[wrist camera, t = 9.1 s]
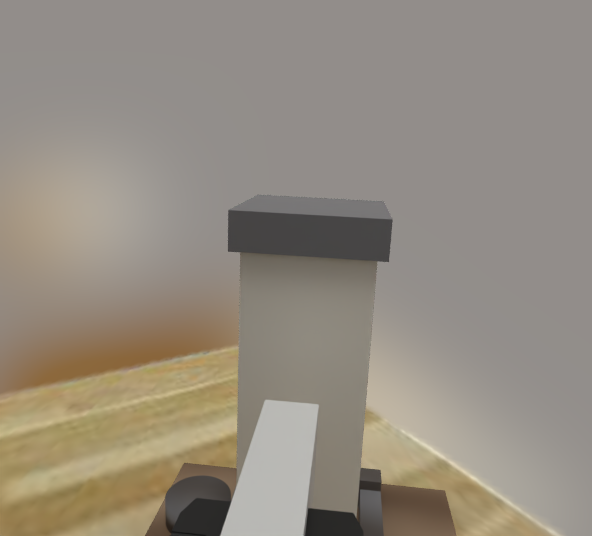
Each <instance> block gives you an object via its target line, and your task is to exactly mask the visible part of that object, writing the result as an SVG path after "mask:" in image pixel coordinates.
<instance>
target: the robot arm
mask: <svg viewBox="0 0 592 536" xmlns="http://www.w3.org/2000/svg"><path fill="white" fill-rule="evenodd" d="M318 411H319V404H309V403H298V402H286V401H275V400H265V402H264V405H263V408H262V411H261V414H260V417H259V420H258V423H257V426H256V429H255V432H254V435H253V438H252V441H251V444H250V447H249V450H248V453H247V456H246V459H245V462H244V465H243V468H242V471H241V474H240V477H239V481H238V484H237V487H236V490H235V493H234V496H233V499H232V502H231V501H221V500H212V499H202V498H196V499H195V500H193V501H192V502H191V503H190V504H189V505H188V506H187V507H186V508H185V509H184V510H183V511H181V512H180V514H179V516H178V518H177V521H176V523H175V525H174V527H173V529H172V533H171V535H170V536H364V534H363V529H362V527H361V526H360V524H359V522H358V520H357V519H356V517H355V515H354V513H350V512H341V511H331V510H322V509H313V508H312V504H313V494H314V480H315V463H316V446H317V428H318Z"/></svg>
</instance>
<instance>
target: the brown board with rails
mask: <svg viewBox="0 0 592 536" xmlns="http://www.w3.org/2000/svg"><path fill="white" fill-rule="evenodd" d="M236 478H237V468H227V467H218V466H209V465H199V464H190V463H184V464H183V466H182V468H181V470H180V472H179V474H178V475H177V477H176V479H175V481H174V483H173V485H172V487H171V488H170V489H169V490H168V492H167V494H166V497H165V500H164V502H163V503H162V505H161V507H160V509H159V511H158V513H157V515H156V516H155V518H154V520H153V522H152V524H151V526H150V528H149V530H148V531H147V533H146V535H145V536H170V535H171V533H172V529H173V527H174V525H175V523H176V521H177V518H178V516H179V514H180V512H181V511H183V510H184V509H185V508H186V507H187V506H188V505H189V504H190V503H191V502H192V501H193V500H195V499H196V498H202V499H212V500H221V501H231V502H232V499H233V496H234V493H235V490H236ZM356 519H357V520H358V522H359V524H360V526H361V527H362V529H363V534H364V536H456V532H455V528H454V524H453V520H452V516H451V513H450V509H449V505H448V501H447V497H446V493H445V491H443V490H434V489H424V488H415V487H406V486H396V485H387V484H381V471H380V470H375V469H366V468H360V481H359V493H358V505H357V518H356Z"/></svg>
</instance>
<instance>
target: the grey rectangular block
mask: <svg viewBox="0 0 592 536" xmlns="http://www.w3.org/2000/svg"><path fill="white" fill-rule="evenodd" d="M228 212H229V213H228V251H229V252H240V305H239V306H240V307H239V362H238V420H237V478H236V487H237V484H238V481H239V477H240V474H241V471H242V468H243V465H244V462H245V459H246V456H247V453H248V450H249V447H250V444H251V441H252V438H253V435H254V432H255V429H256V426H257V423H258V420H259V417H260V414H261V411H262V408H263V405H264V402H265V400H275V401H286V402H298V403H309V404H319V411H318V428H317V446H316V463H315V480H314V494H313V504H312V508H313V509H322V510H331V511H341V512H350V513H354V515H355V517H356V518H357V505H358V493H359V481H360V468H361V456H362V444H363V432H364V419H365V407H366V395H367V383H368V369H369V358H370V357H369V356H370V346H371V333H372V320H373V309H374V297H375V284H376V272H377V271H376V270H377V261H383V262H389V254H390V242H391V230H392V217H391V216H390V213H389V211H388V209H387V207H386V205H385V203H384V202H382V201H362V200H345V199H327V198H307V197H289V196H271V195H257V196H255V197H253V198H251V199H249V200H247V201H245V202H243V203H241V204H239V205H237V206H235V207H234V208H232V209H230V210H229V211H228Z"/></svg>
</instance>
